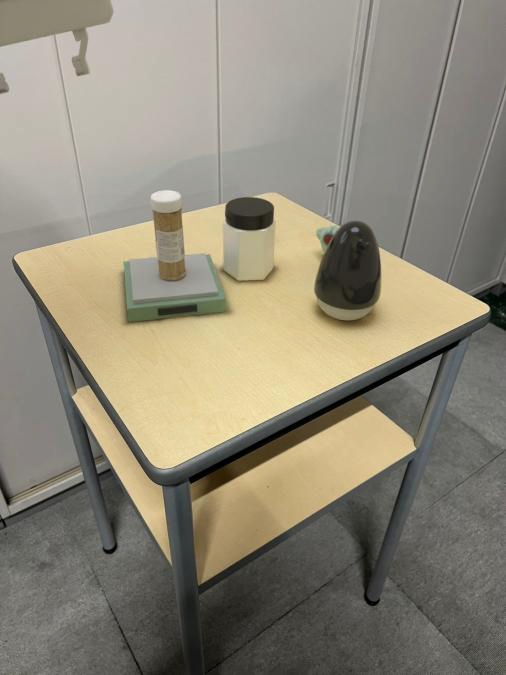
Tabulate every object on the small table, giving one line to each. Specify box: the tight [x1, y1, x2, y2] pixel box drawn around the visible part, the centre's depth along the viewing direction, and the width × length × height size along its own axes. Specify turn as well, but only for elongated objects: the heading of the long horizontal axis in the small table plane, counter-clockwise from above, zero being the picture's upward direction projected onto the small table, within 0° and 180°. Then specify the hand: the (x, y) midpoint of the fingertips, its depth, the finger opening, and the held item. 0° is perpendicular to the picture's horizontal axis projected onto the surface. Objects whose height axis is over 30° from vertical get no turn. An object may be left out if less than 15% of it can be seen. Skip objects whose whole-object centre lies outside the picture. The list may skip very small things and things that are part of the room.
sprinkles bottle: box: [150, 189, 186, 280], centre depth 80 cm, size 5×5×13 cm
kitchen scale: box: [123, 252, 227, 323], centre depth 85 cm, size 15×15×3 cm
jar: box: [222, 196, 277, 282], centre depth 89 cm, size 9×8×12 cm
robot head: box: [315, 224, 340, 253], centre depth 94 cm, size 8×4×7 cm, turn 55°
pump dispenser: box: [313, 220, 382, 321], centre depth 78 cm, size 10×10×15 cm
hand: (43, 83), depth 60 cm, fingers open, 8 cm apart
